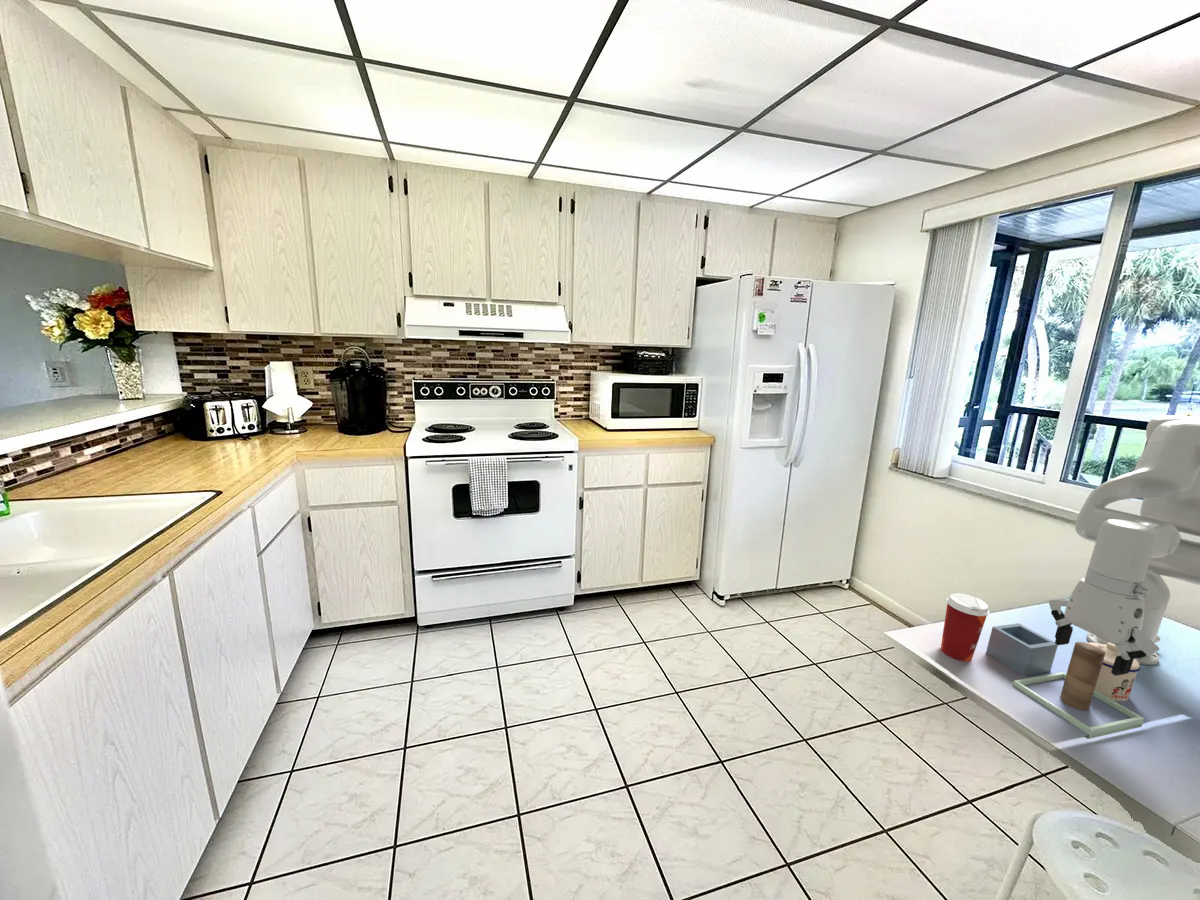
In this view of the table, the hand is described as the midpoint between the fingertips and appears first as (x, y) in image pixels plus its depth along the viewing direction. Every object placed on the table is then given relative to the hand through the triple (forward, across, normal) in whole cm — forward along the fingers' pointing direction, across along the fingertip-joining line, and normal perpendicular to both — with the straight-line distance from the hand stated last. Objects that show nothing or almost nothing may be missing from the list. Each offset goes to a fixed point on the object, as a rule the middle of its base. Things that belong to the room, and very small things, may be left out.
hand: (1088, 658), depth 98 cm
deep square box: (+12, +13, -2) cm, 18 cm away
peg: (+11, 0, 0) cm, 11 cm away
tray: (+12, 0, 0) cm, 12 cm away
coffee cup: (+12, +18, +10) cm, 24 cm away
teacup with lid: (+12, +3, -13) cm, 18 cm away
